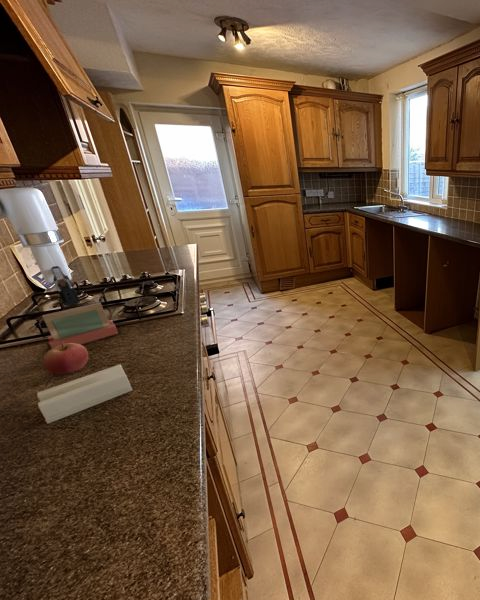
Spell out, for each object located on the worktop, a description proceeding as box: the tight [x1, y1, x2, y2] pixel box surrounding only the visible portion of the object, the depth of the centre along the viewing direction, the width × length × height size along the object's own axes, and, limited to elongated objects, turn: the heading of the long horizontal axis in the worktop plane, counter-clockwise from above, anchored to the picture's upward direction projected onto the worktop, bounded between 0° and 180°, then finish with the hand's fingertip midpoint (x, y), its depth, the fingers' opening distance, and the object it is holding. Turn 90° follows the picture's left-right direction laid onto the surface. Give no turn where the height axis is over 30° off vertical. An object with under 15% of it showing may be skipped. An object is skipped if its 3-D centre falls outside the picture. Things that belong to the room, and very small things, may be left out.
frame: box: [42, 301, 110, 340], centre depth 93 cm, size 2×12×10 cm, turn 138°
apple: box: [42, 343, 89, 375], centre depth 81 cm, size 8×8×8 cm
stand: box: [47, 319, 119, 349], centre depth 94 cm, size 8×14×4 cm, turn 138°
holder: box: [36, 364, 133, 425], centre depth 72 cm, size 8×14×4 cm, turn 138°
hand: (70, 299), depth 90 cm, fingers open, 9 cm apart
